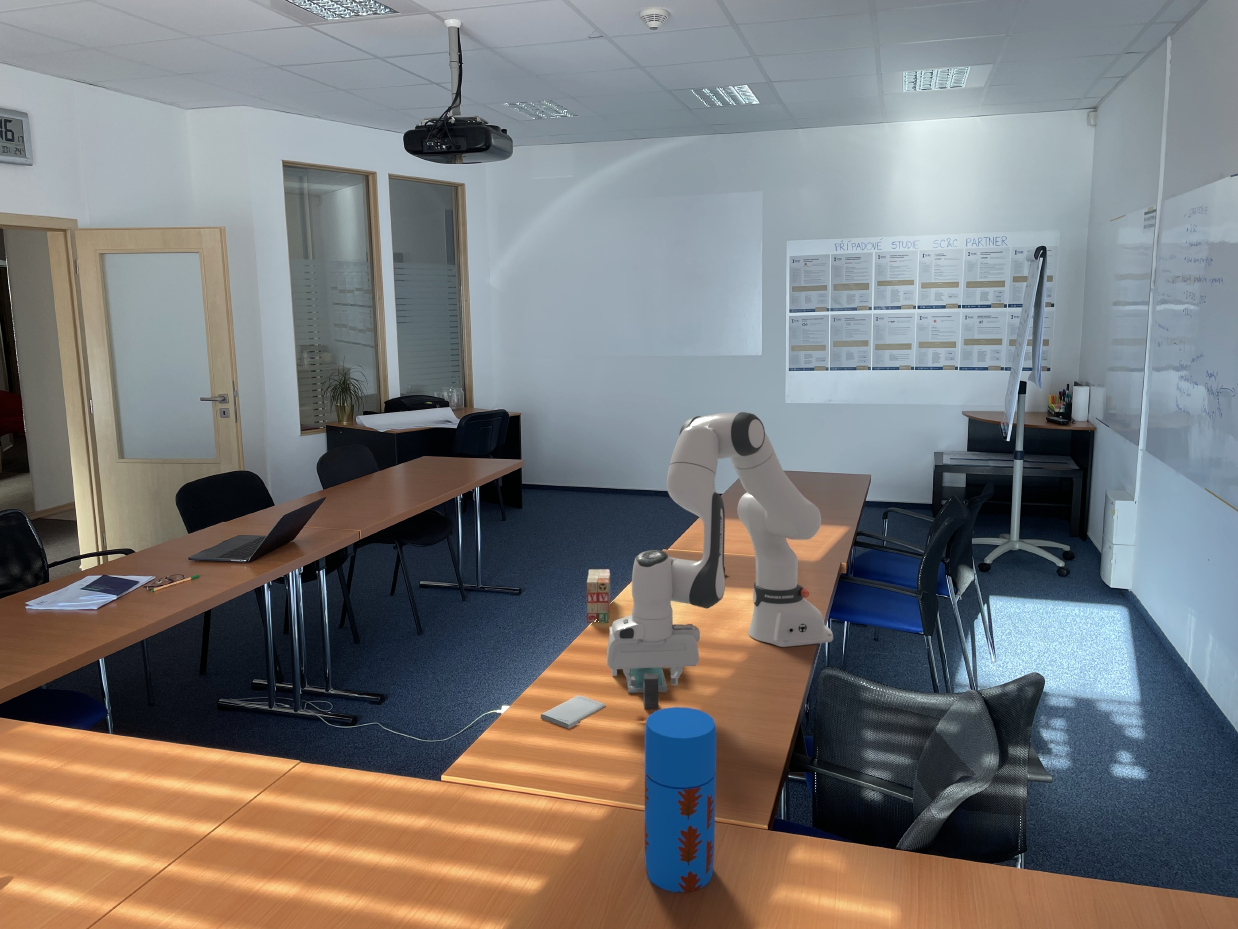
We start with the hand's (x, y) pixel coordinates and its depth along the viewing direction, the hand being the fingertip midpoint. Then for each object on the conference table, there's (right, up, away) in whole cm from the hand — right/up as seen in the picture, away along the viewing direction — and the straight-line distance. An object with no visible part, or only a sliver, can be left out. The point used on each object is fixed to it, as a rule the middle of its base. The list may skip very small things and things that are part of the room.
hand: (652, 685), depth 195 cm
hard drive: (-18, -7, -1) cm, 19 cm away
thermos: (+2, -15, -56) cm, 58 cm away
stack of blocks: (-13, +5, +65) cm, 67 cm away
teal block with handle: (-1, -3, +9) cm, 10 cm away
